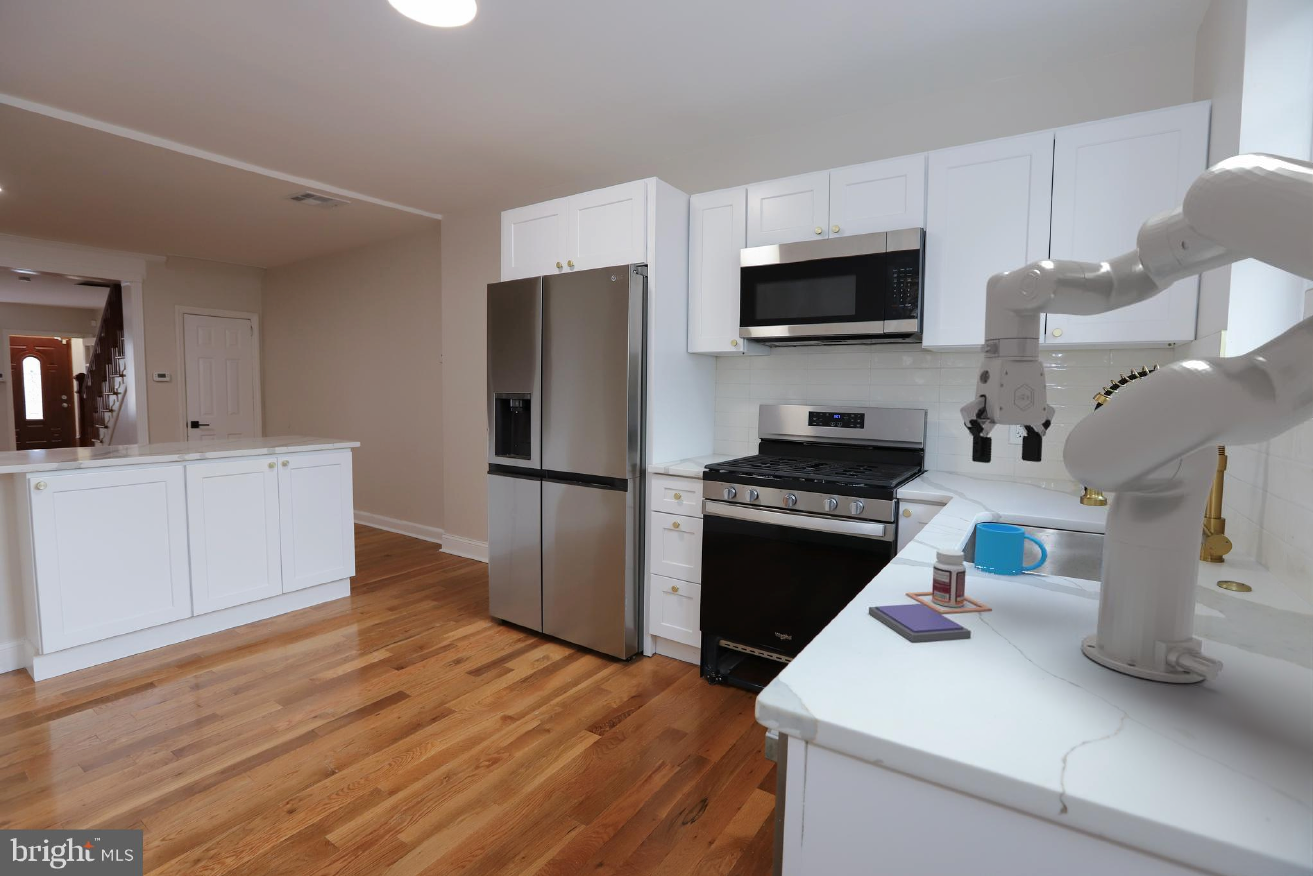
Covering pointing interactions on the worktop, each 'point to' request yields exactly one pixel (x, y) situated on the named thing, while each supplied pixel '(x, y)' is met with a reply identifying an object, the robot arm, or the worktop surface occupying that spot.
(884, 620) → the ink pad
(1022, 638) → the worktop surface
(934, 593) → the pill bottle
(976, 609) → the open rectangular frame
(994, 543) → the mug
